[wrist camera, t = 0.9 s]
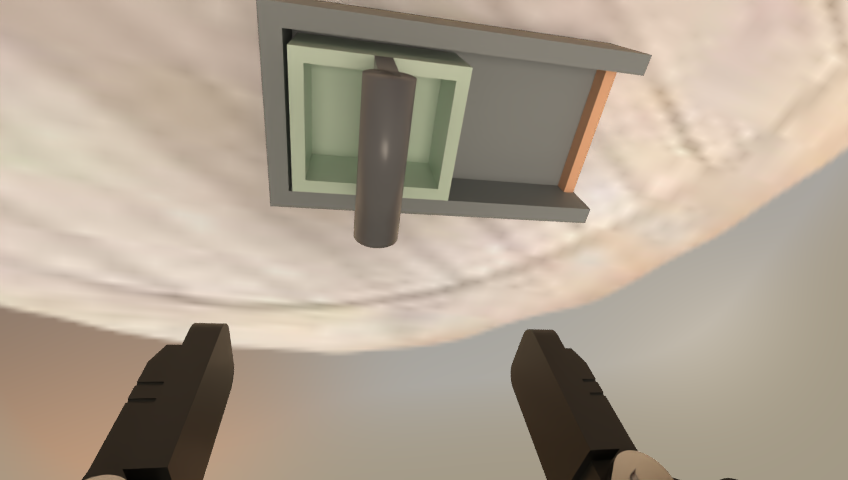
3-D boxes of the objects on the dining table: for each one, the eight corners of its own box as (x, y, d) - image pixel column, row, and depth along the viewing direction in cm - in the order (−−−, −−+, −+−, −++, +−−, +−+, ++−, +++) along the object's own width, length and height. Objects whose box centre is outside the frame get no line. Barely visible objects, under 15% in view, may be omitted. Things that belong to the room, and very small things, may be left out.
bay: (272, -7, 25) (256, -2, 21) (610, 43, 29) (651, 55, 25) (282, 175, 31) (270, 205, 27) (558, 193, 36) (584, 222, 32)
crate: (298, 32, 25) (265, 66, 16) (455, 52, 27) (504, 94, 18) (301, 160, 30) (276, 244, 21) (435, 170, 32) (467, 251, 22)
